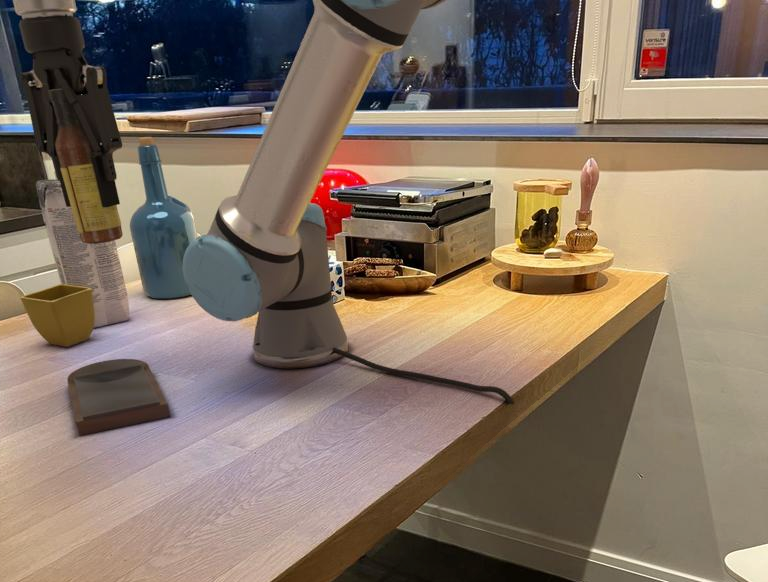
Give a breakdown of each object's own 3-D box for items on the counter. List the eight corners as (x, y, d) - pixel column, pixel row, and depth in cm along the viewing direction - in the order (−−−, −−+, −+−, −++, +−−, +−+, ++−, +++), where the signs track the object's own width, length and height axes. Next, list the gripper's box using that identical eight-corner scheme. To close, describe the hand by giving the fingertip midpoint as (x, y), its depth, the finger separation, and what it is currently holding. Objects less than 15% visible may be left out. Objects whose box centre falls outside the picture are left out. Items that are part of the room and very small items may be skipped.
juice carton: (136, 320, 150) (102, 168, 136) (81, 332, 145) (40, 176, 131) (121, 311, 156) (87, 164, 142) (69, 322, 151) (28, 172, 138)
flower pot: (65, 352, 135) (50, 301, 130) (33, 346, 139) (18, 296, 134) (105, 337, 141) (92, 287, 136) (73, 332, 145) (60, 283, 141)
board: (170, 416, 107) (166, 399, 106) (79, 435, 103) (74, 418, 102) (145, 365, 126) (142, 350, 125) (68, 380, 122) (64, 364, 121)
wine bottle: (174, 303, 159) (142, 141, 144) (131, 297, 166) (95, 141, 150) (221, 286, 169) (195, 133, 153) (178, 281, 175) (149, 134, 160)
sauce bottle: (133, 237, 116) (100, 85, 106) (102, 246, 111) (65, 88, 101) (100, 235, 119) (66, 87, 109) (69, 244, 114) (30, 90, 104)
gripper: (124, 10, 100) (162, 201, 111) (18, 23, 108) (63, 200, 119) (81, 9, 94) (126, 211, 106) (-27, 22, 102) (25, 209, 114)
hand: (93, 205), depth 113 cm, fingers closed on sauce bottle, 6 cm apart
